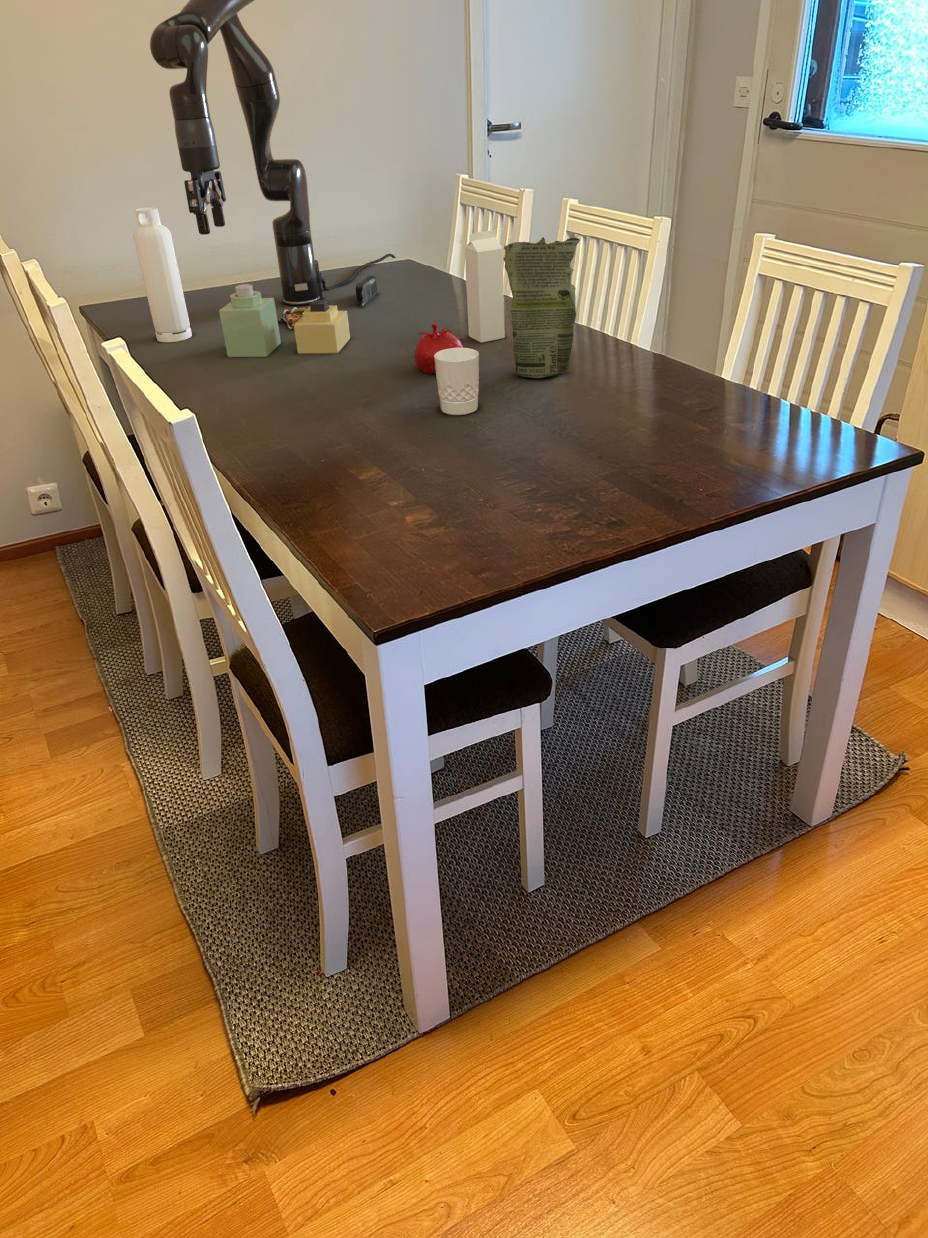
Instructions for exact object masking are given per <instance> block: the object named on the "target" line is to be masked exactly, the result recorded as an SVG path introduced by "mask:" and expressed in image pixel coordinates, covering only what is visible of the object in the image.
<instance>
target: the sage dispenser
mask: <svg viewBox="0 0 928 1238" xmlns="http://www.w3.org/2000/svg"><path fill="white" fill-rule="evenodd" d="M253 293H254V295H252V296H248V297H237V294H236V292H234V293H231V294H230V295H229V302H228V303H227V304H226V305H224V306H223V307H221V308H220V309H219V310H218V314H219V319H220V323H221V328H222V329H221V330H222V335H223V339H224V345H225V350H226V355H227V356H226V357H227V358H247V357H248V358H254V357H255V358H259V357H261V358H264V357H266V358H267V357H269V355H270V354H271V353H273V352H274V351H275V350H276V348H278V347H279V346H280V345H281V344H282V341H281V340H282V339H281V334H280V328H279V322H278V321H279V320H278V315H277V308H276V302H275V298H274V297H262V293H261V292H260V291H258V290H253Z"/></svg>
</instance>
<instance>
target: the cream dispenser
mask: <svg viewBox="0 0 928 1238" xmlns="http://www.w3.org/2000/svg"><path fill="white" fill-rule="evenodd" d="M328 306H329V309H328V310H327V311H326V312H311V310H310V306H308V307H306V310H305V311H304V312H303V313H302V315H303V317H302V318H301V319H300V320H299V321H297V322H296V323H295V324H294V329H293V331H294V335H295V341H296V350H297V354H339V353H340V351H341V350H342V349H343V348H344V347H345V345H346V344H347V343H348V342H349V340H350V339H351V333H350V325H349V317H348V310H338V305H328Z"/></svg>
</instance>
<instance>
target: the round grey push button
mask: <svg viewBox="0 0 928 1238" xmlns="http://www.w3.org/2000/svg"><path fill="white" fill-rule="evenodd" d="M253 291H254V287H253V284H250V283H244V284H239V285H236V286H235V293H236V294H237V297H248V296H252V295H254V293H253Z"/></svg>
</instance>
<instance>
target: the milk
mask: <svg viewBox="0 0 928 1238" xmlns="http://www.w3.org/2000/svg"><path fill="white" fill-rule="evenodd" d="M496 234H497V233H496V230H495V229H491V230H485V231H484V230H483V231H478V232H471V233H470V235H469V242H468V243H467V244H466V245H465V246H464V261H465V262H464V263H465V264H464V265H465V281H466V282H465V284H466V305H467V322H468V323H467V325H468V338H469V337H470V338H471V339H473V340H475V341H477V342H478V343H480V344H481V343H482V344H483V343H487V342H491V341H497V340H502V339H505V301H504V300H505V299H504V297H505V295H504V257H503V255H504V253H503V246H502V245H501V243H500V242H499V241H498V239H497V235H496Z"/></svg>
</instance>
